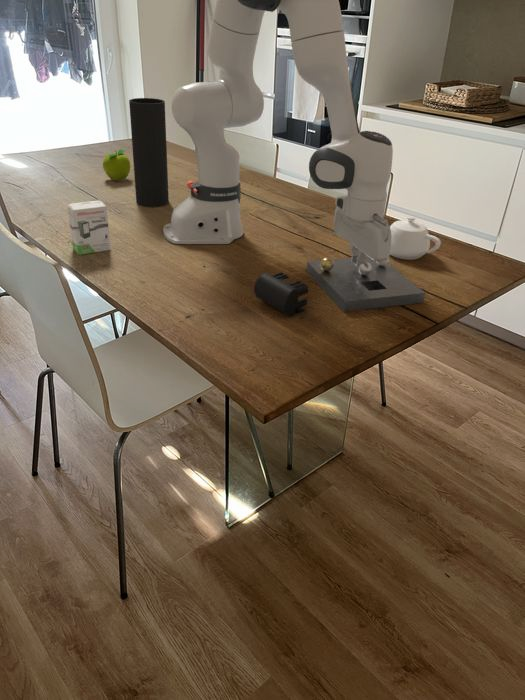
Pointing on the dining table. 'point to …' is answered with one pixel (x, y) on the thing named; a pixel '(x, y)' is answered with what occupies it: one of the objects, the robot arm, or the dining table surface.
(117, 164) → the fruit
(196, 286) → the dining table surface
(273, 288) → the end cap
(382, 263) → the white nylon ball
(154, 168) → the vase
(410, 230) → the teapot
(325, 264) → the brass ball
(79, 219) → the ink box
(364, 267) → the steel ball
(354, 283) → the metal plate
